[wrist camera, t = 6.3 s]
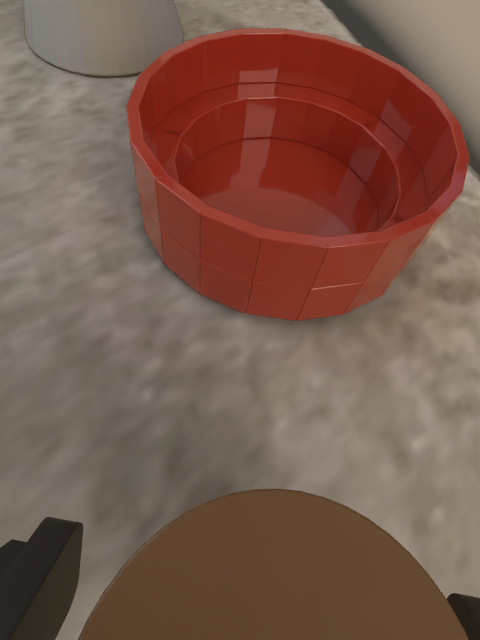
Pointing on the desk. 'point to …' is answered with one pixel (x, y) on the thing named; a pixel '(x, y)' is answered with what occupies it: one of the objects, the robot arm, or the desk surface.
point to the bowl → (290, 169)
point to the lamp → (102, 34)
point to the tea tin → (272, 578)
